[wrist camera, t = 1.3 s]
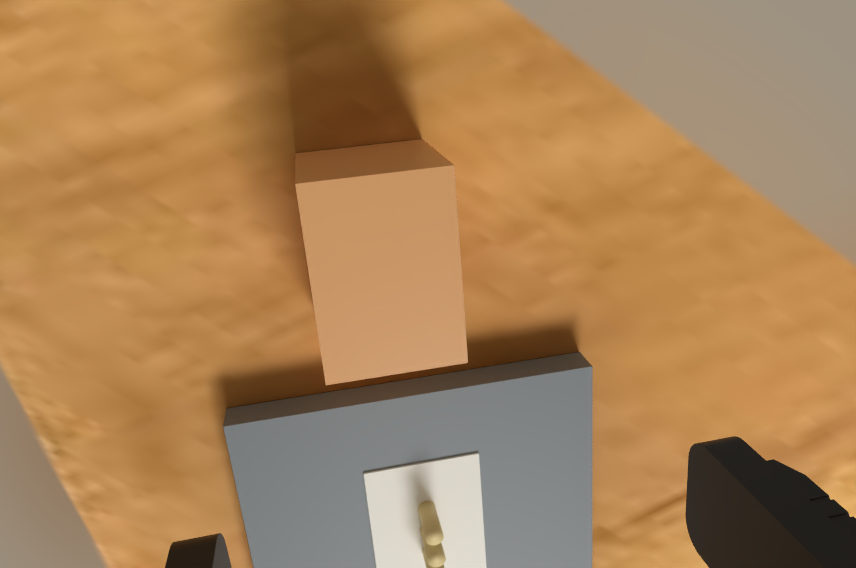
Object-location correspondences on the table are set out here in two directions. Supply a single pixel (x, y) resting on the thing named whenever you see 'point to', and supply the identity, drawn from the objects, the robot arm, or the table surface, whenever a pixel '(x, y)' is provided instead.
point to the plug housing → (382, 258)
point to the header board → (422, 471)
